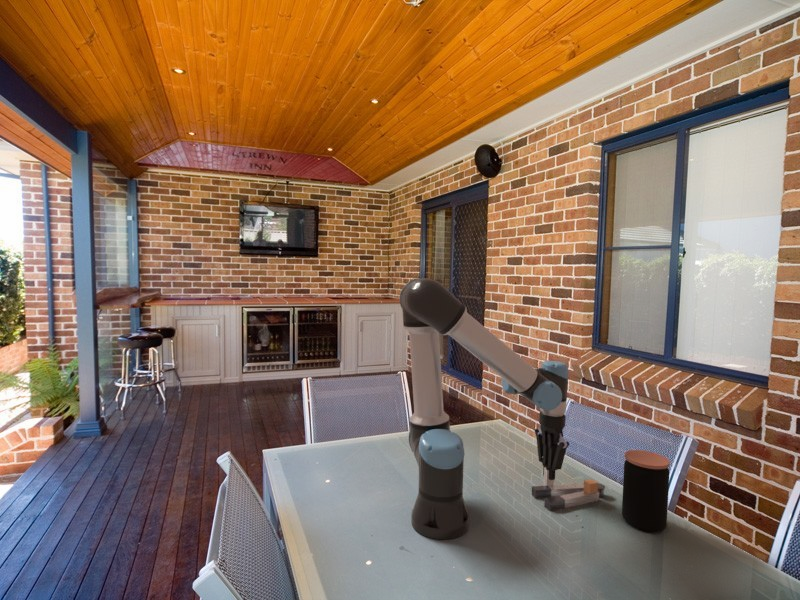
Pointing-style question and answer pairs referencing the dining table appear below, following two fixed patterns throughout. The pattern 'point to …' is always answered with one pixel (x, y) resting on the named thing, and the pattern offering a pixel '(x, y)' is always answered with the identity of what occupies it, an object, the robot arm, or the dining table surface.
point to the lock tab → (590, 486)
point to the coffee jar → (645, 490)
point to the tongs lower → (573, 499)
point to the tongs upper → (555, 490)
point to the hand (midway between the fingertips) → (548, 488)
